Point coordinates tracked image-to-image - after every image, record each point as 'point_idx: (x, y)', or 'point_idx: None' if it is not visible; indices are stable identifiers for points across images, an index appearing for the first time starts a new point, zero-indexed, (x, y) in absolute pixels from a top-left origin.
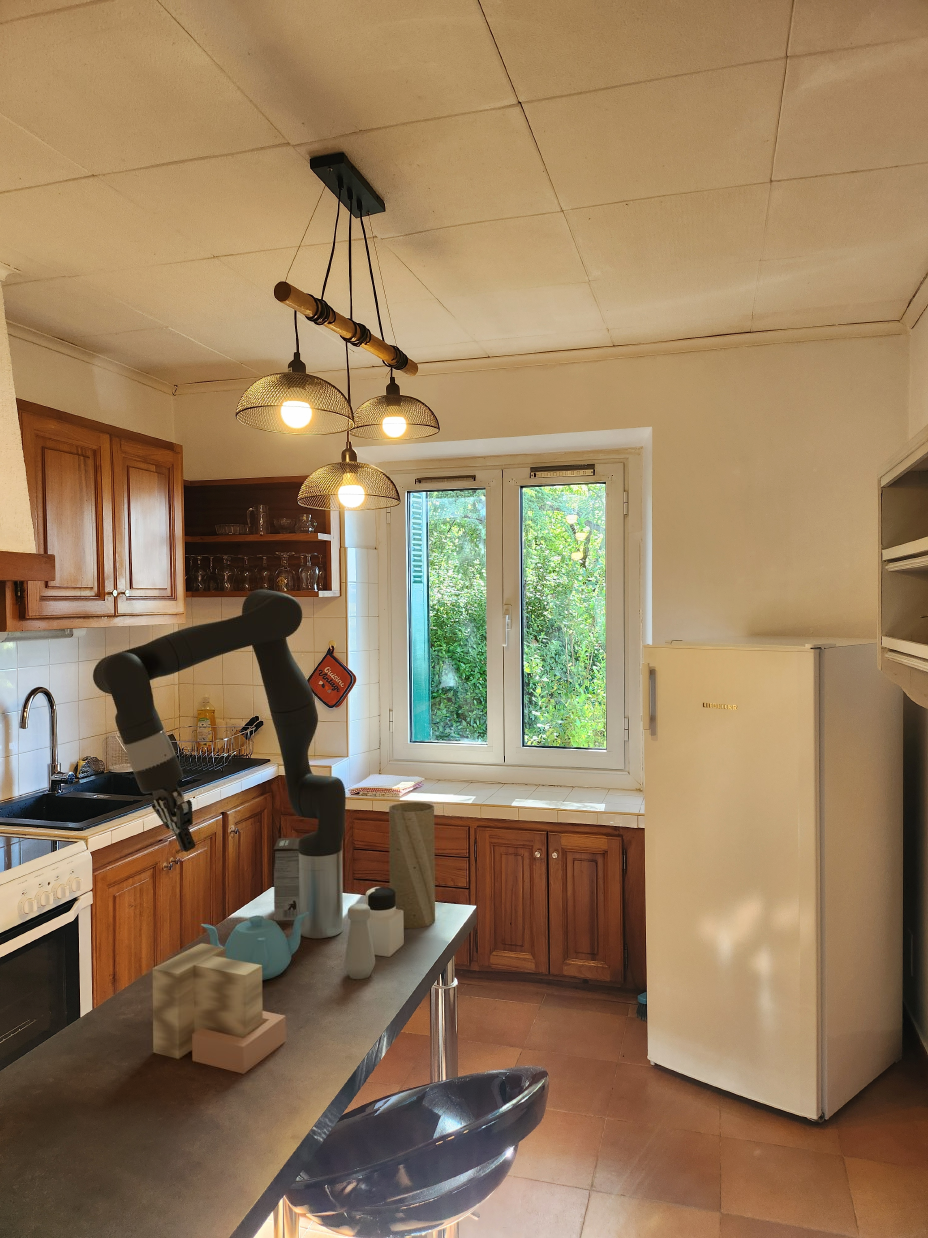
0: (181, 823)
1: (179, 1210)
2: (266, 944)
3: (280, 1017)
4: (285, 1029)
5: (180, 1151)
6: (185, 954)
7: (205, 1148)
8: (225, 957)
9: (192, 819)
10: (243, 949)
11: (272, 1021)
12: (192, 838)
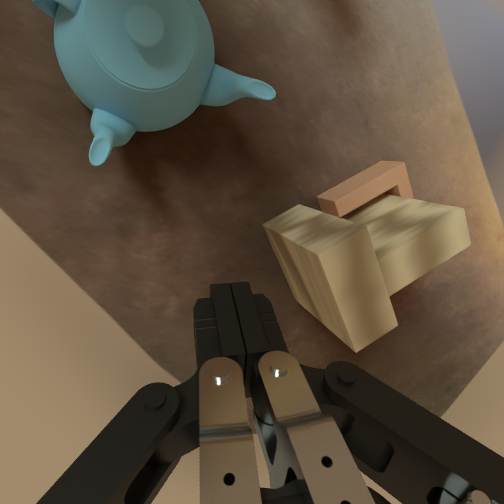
0: (383, 439)
1: (495, 334)
2: (207, 52)
3: (403, 170)
4: (391, 161)
5: (450, 319)
6: (344, 295)
7: (461, 302)
8: (356, 223)
9: (390, 387)
10: (186, 101)
11: (404, 184)
12: (256, 307)
